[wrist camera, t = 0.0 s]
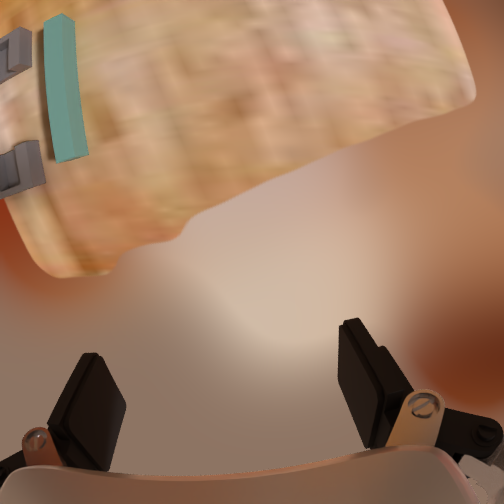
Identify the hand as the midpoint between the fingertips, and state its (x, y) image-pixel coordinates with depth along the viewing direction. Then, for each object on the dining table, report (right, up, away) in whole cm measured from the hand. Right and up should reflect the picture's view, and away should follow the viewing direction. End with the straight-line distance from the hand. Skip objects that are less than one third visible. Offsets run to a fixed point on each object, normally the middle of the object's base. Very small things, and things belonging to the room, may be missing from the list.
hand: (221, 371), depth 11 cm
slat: (-24, +27, +22) cm, 42 cm away
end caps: (-35, +25, +21) cm, 48 cm away
